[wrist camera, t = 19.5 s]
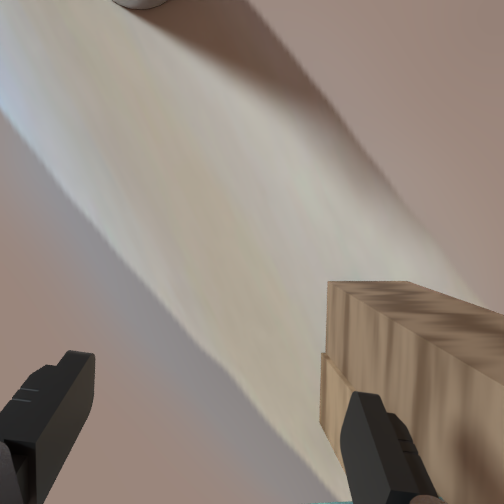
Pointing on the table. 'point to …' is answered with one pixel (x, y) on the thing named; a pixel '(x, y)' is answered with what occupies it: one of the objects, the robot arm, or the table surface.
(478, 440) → the tall stand
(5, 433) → the robot arm
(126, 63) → the table surface
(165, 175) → the table surface
